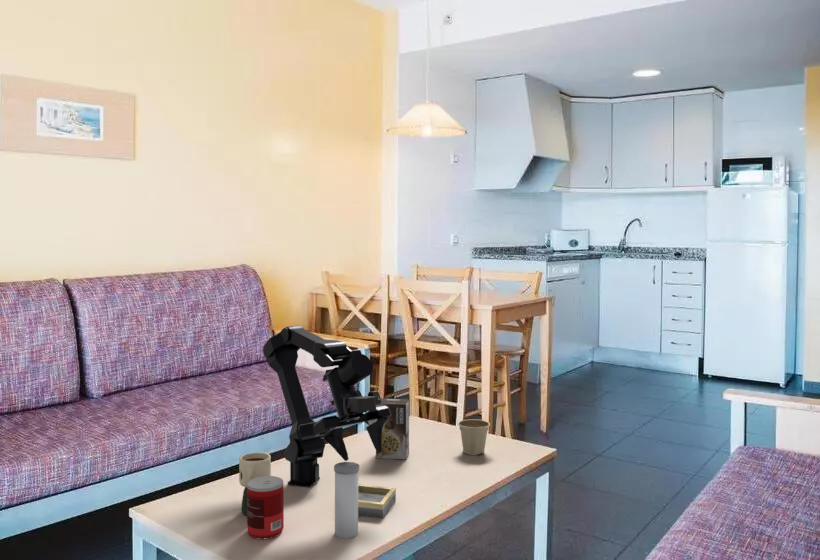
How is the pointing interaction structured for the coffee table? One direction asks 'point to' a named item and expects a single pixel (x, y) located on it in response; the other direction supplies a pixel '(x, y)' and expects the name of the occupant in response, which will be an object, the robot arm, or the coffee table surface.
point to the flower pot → (473, 435)
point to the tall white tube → (346, 499)
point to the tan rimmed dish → (375, 500)
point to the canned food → (265, 507)
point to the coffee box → (395, 430)
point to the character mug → (252, 471)
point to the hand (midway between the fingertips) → (363, 456)
